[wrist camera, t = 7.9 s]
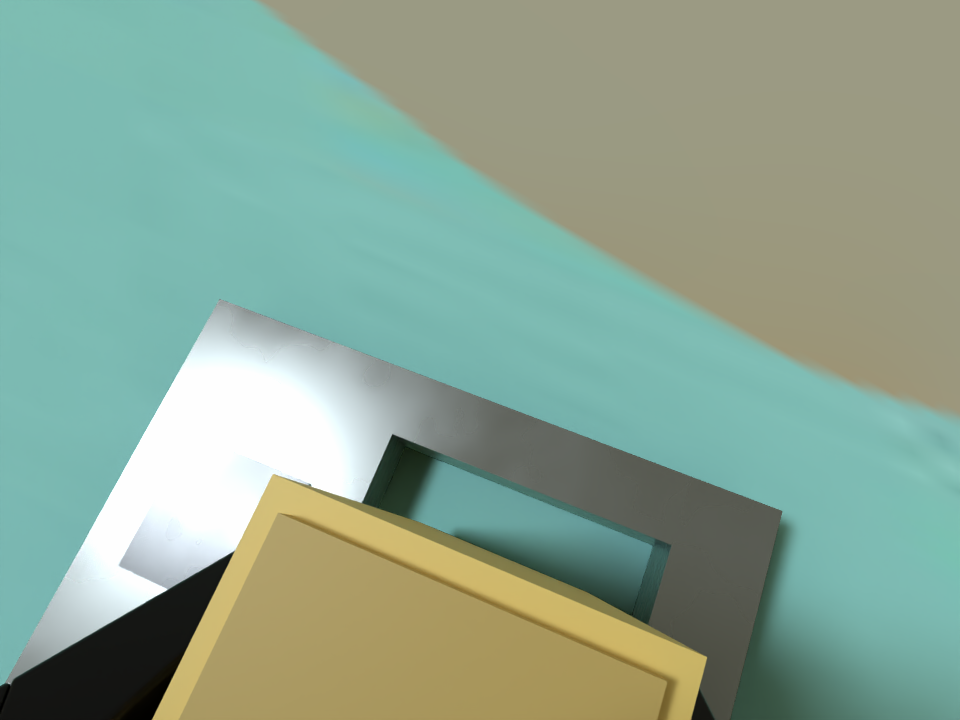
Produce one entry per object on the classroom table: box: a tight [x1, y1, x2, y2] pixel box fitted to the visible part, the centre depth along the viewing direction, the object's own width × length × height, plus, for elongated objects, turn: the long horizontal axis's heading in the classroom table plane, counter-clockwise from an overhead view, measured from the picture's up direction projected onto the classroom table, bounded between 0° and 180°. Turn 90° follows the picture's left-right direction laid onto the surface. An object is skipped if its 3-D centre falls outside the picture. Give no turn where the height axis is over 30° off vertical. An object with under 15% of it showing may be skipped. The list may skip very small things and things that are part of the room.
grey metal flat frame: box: [5, 299, 782, 720], centre depth 15 cm, size 11×16×2 cm
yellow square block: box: [152, 474, 707, 720], centre depth 10 cm, size 4×4×10 cm
